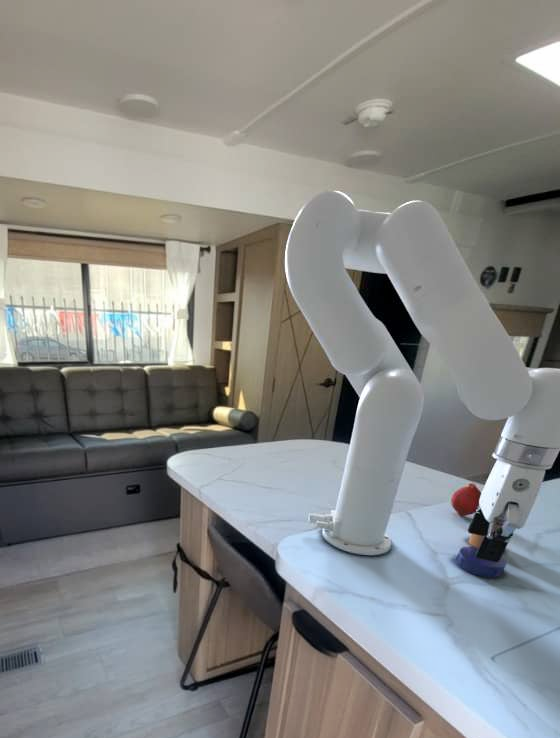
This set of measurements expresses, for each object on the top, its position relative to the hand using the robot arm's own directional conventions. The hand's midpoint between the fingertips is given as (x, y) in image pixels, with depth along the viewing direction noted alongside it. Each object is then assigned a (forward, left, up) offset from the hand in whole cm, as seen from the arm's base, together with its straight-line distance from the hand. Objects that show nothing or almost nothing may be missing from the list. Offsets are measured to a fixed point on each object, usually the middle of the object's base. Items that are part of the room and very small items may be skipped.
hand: (481, 546), depth 71 cm
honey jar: (+6, +9, -4) cm, 11 cm away
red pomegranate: (+7, +23, -4) cm, 24 cm away
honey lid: (+1, 0, -2) cm, 2 cm away
